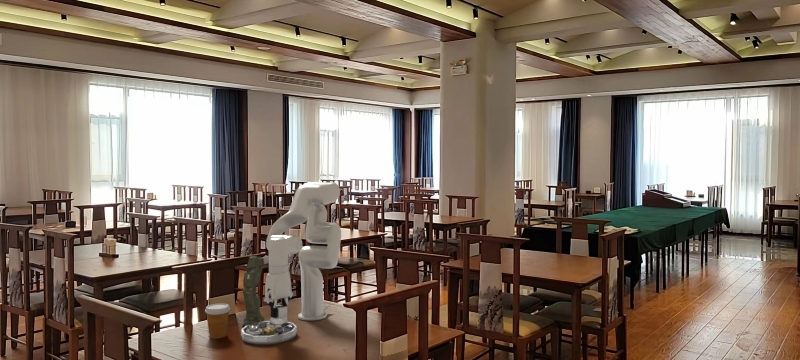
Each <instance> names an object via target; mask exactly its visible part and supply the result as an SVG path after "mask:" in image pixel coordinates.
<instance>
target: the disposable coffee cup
mask: <svg viewBox="0 0 800 360" xmlns="http://www.w3.org/2000/svg"><path fill="white" fill-rule="evenodd" d="M230 310H231V307H230V305H229V304H228V303H213V304H208V305H207V306H206V307H205V310H204V312H205V314H206V321H207V326H208V334H209V338H211V339H223V338H226V336H227V333H228V323H229V314H230V313H229V312H230Z"/></svg>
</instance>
